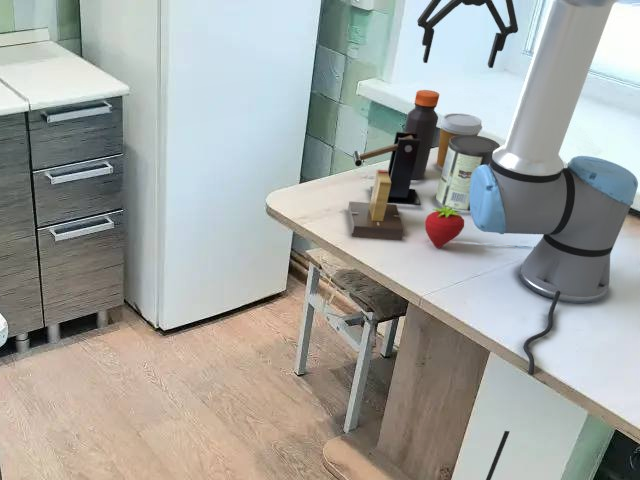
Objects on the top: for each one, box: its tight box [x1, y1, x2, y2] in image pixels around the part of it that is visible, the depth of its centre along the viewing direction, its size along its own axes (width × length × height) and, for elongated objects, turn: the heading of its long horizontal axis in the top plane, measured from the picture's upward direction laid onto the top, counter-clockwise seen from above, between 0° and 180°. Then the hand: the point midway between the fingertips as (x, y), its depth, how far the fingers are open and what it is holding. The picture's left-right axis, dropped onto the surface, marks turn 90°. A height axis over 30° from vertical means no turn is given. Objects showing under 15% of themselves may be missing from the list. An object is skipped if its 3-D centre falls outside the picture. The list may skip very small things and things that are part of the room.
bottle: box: [403, 89, 440, 182], centre depth 184 cm, size 7×7×20 cm
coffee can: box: [435, 135, 501, 211], centre depth 175 cm, size 10×10×14 cm
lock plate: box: [347, 201, 405, 241], centre depth 169 cm, size 12×10×3 cm
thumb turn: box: [369, 169, 391, 221], centre depth 166 cm, size 6×2×9 cm, turn 173°
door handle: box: [352, 135, 413, 167], centre depth 174 cm, size 13×6×2 cm, turn 82°
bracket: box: [369, 130, 421, 206], centre depth 176 cm, size 10×8×15 cm
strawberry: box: [424, 204, 465, 249], centre depth 159 cm, size 6×8×10 cm
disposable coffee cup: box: [436, 112, 483, 169], centre depth 192 cm, size 10×10×12 cm
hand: (457, 63), depth 174 cm, fingers open, 13 cm apart
